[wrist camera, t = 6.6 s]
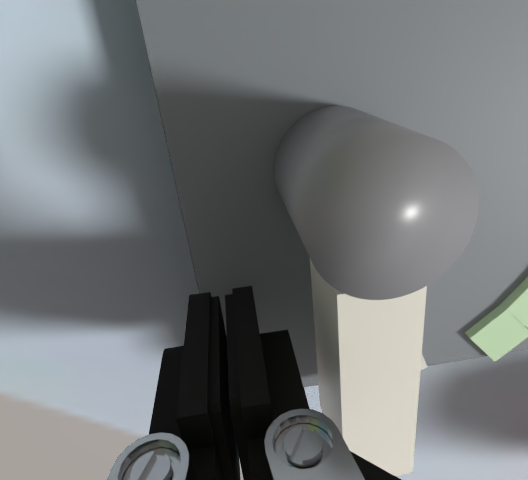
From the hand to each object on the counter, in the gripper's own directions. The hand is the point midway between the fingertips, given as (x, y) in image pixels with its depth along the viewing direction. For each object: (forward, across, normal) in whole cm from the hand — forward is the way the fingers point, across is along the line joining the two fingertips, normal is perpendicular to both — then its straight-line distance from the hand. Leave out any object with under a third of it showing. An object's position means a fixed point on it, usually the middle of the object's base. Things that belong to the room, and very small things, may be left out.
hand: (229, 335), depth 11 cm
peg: (+1, -3, -1) cm, 4 cm away
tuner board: (+2, -6, -3) cm, 7 cm away
